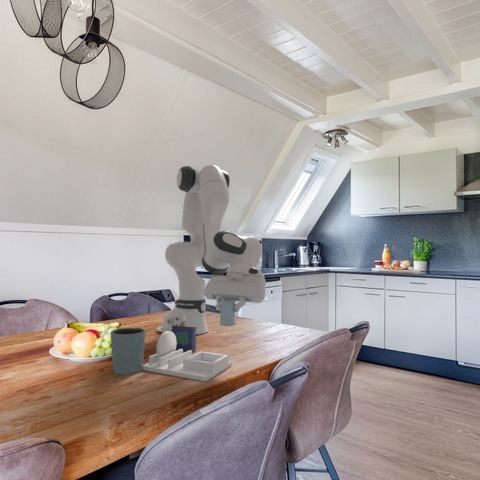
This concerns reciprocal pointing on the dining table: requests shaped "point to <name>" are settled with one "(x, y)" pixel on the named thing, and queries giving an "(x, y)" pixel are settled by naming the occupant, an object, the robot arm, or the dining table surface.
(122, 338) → the green cup
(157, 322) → the dining table surface
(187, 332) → the blue printed box
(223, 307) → the grey upright block
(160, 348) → the rack
